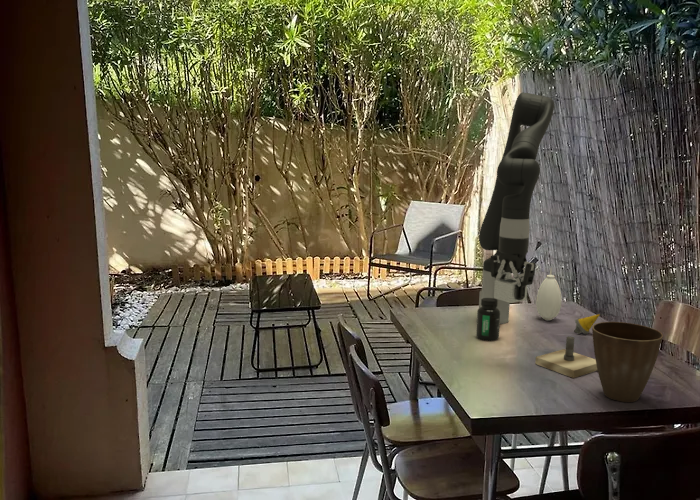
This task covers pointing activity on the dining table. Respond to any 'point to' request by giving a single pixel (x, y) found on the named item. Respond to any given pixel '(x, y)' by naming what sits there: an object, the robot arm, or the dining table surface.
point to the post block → (567, 361)
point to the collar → (507, 290)
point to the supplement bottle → (488, 320)
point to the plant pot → (625, 357)
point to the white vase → (549, 298)
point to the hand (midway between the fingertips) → (510, 296)
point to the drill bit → (585, 324)
